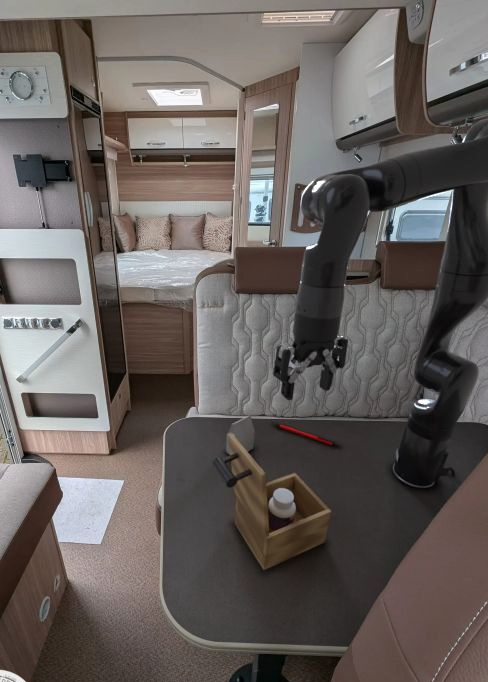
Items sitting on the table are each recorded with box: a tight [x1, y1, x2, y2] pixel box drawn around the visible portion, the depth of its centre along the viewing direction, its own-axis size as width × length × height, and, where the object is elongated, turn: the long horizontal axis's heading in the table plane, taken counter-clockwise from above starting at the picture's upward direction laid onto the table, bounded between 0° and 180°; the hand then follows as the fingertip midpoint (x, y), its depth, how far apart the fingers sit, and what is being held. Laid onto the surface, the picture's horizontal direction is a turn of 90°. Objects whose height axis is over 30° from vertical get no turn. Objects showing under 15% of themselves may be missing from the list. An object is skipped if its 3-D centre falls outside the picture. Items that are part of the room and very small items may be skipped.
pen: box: [274, 423, 339, 447], centre depth 105 cm, size 1×19×1 cm, turn 58°
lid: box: [211, 433, 269, 537], centre depth 64 cm, size 15×12×6 cm
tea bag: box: [225, 414, 255, 455], centre depth 97 cm, size 4×7×10 cm, turn 131°
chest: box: [234, 472, 332, 571], centre depth 74 cm, size 15×12×9 cm
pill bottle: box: [268, 488, 296, 533], centre depth 73 cm, size 5×5×10 cm
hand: (306, 393), depth 68 cm, fingers open, 8 cm apart
